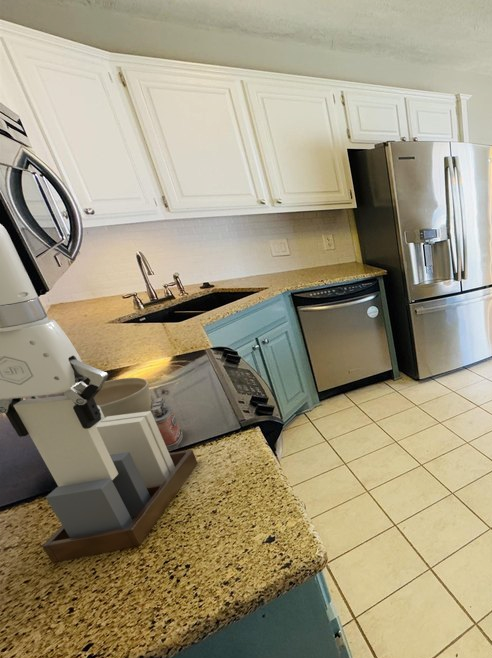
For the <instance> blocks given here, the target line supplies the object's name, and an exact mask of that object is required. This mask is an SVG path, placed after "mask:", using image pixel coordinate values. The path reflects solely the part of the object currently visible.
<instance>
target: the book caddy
mask: <svg viewBox="0 0 492 658" xmlns="http://www.w3.org/2000/svg"><path fill="white" fill-rule="evenodd" d="M169 454H170V457H171V459H172V461H173V464H174V466H175V468H174V469H173V471H172V472H171V473H170V474H169V476H168V477H167V478H166V480H165V481H164V482H163V483H162V484H160V485H154V486H148V487H146V488H147V490H148V492H149V494H150V496H151V499H150V500H149V502H148V503H147V504H146V505H145V507H144V508H143V509H142V511H141V512H140V513H139V515H138V516H137V517H134V519H133V522H132V524H131V525H130V526H129V527H128V528H123V529H117V530H112V531H107V532H101V533H96V534H90V535H85V536H80V537H74V538H70V537H69V536H68V534H67V532H66V531H65V529H64V527H63V526H62V525H61V526H60V527H59V528H58V529H57V530H56V531H55V533H53V535H51V536H50V537H49V538H48V539H47V540H46V542H45V543H43V545H41V547H42V550H43V551H44V552H45V554H46V555H47V557H48V558H49V560H50V561H51V563H52V564H54V563H59V562H64V561H69V560H74V559H78V558H84V557H88V556H95V555H100V554H104V553H109V552H116V551H120V550H125V549H130V548H137V547H140V546H142V544H143V542H144V541H145V539H146V538H147V536H148V535H149V534H150V532H151V531H152V529H153V528H154V526H155V525H156V524H157V523H158V521H159V519H160V518H161V517H162V515H163V514H164V512H165V511H166V510H167V508H168V506H169V505H170V504H171V502H172V501H173V500H174V499H175V496H176V495H177V494H178V492H179V491H180V489H181V488H182V486H183V485H184V483H186V482H187V480H188V478H189V477H190V476H191V474H192V472H193V471H194V470H195V469H196V467H197V465H198V463H199V462H198V460H197V457H196V455H195V453H194V450H193V449H188V450H181V451H173V452H169Z"/></svg>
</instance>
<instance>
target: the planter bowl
mask: <svg viewBox="0 0 492 658" xmlns="http://www.w3.org/2000/svg"><path fill="white" fill-rule="evenodd" d="M75 390H76V391H78V390H77V389H75ZM78 392H79V391H78ZM79 393H80V392H79ZM80 394H81V393H80ZM94 400H95V402H96V405H97V406H100V408H101V411H102V413H103V415H104V417H105V418H106V417H108V416H116V415H123V414H131V413H139V412H147V411H151V409H152V394H151V390H150V385H149V381H148V380H147V379H145V378H142V377H123V378H115V379H111V380H106V381H105V382H104V384H103V385H102V388H101V389H100V390H99V392H98V393H97V395H96V396H95V397H94Z"/></svg>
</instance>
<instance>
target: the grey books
mask: <svg viewBox="0 0 492 658" xmlns="http://www.w3.org/2000/svg"><path fill="white" fill-rule="evenodd" d="M110 457H111V459H112V461H113V463H114V465H115V468H116V470H117V472H118V475H117V476H116V477H115V478H114V479H113V480H111V478H109V479H103V480H97V481H90V482H84V483H78V484H72V485H65V486H59V487H58V486H57V487H55V488H54V489H53V490H52V491H51V492H50V493H48V494H47V495H46V496H45V499H46V501H47V502H48V504H49V506H50V508H51V510H52V511H53V513H54V514H55V516H56V518H57V519H58V521H59V523H60V524H61V526H63V527H64V529H65V531H66V532H67V534H68V536H69V537H70V538H74V537H80V536H85V535H90V534H96V533H101V532H107V531H112V530H117V529H123V528H128V527H129V526H130V525H131V524H132V522H133V521H134V519H135V518H136V517H137V516H138V515H139V513H140V512H141V511H142V509H143V508H144V507H145V505H146V504H147V503H148V502H149V500H150V499H151V496H150V494H149V492H148V490H147V488H146V486H145V484H144V482H143V480H142V477H141V475H140V473H139V471H138V469H137V467H136V465H135V463H134V461H133V458H132V456H131V454H130V452H126V453H119V454H112V455H110Z"/></svg>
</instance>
